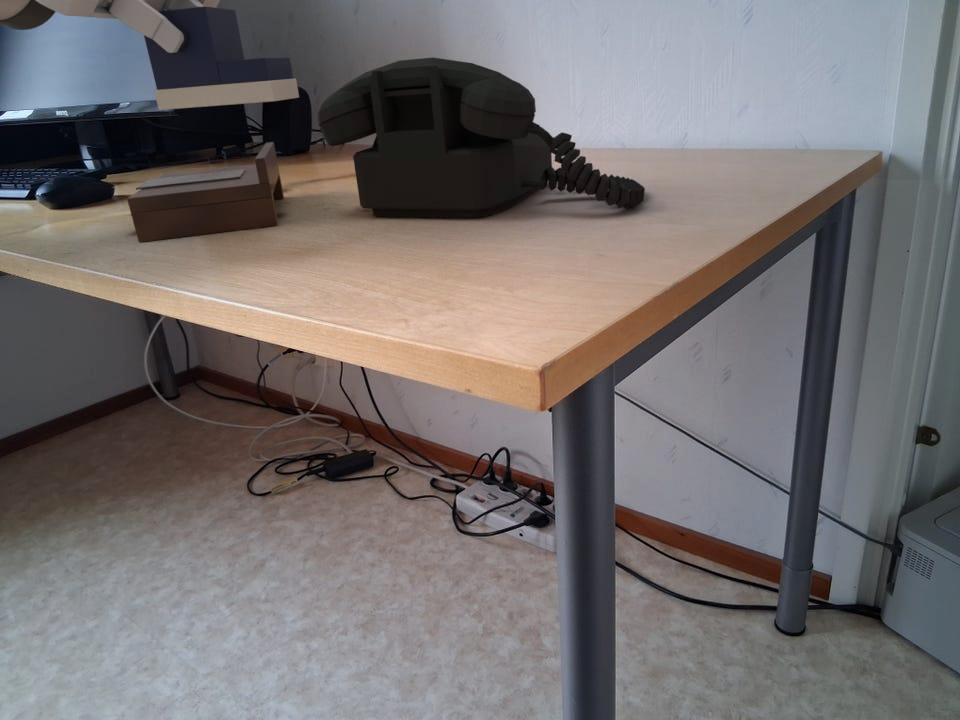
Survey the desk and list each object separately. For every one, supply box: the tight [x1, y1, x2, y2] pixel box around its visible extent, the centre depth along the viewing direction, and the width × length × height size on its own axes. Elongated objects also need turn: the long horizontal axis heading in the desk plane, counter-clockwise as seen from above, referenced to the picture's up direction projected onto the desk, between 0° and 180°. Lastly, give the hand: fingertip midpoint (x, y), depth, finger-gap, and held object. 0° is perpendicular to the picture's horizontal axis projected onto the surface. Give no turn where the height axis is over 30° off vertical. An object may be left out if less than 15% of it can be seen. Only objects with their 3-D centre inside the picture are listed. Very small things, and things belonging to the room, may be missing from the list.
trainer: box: [143, 6, 300, 111], centre depth 56 cm, size 10×5×7 cm, turn 81°
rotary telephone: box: [317, 56, 646, 219], centre depth 74 cm, size 33×22×15 cm, turn 65°
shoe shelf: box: [126, 141, 285, 243], centre depth 80 cm, size 14×20×7 cm
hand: (202, 46), depth 56 cm, fingers closed on trainer, 5 cm apart
